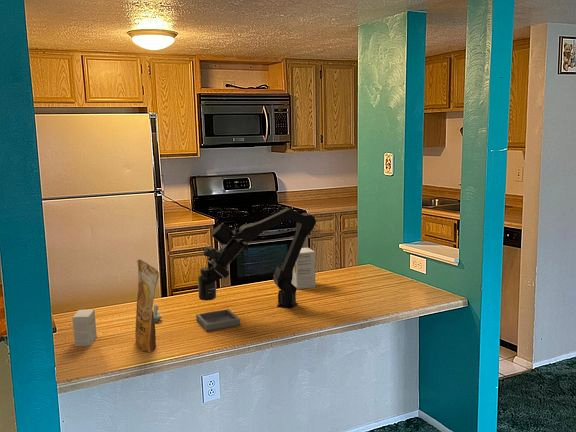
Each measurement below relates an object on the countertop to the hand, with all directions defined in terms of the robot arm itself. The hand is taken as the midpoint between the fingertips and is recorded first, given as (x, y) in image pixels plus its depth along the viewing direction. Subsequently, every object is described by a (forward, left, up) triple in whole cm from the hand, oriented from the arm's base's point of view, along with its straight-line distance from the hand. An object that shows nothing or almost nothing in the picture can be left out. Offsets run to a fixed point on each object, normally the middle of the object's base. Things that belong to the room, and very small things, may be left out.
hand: (203, 282), depth 213 cm
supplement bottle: (-1, -1, -7) cm, 7 cm away
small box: (+21, +40, -13) cm, 47 cm away
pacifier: (+15, +13, -14) cm, 24 cm away
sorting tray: (-10, +5, -13) cm, 17 cm away
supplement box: (-17, -52, -13) cm, 56 cm away
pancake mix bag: (0, +32, -13) cm, 35 cm away
